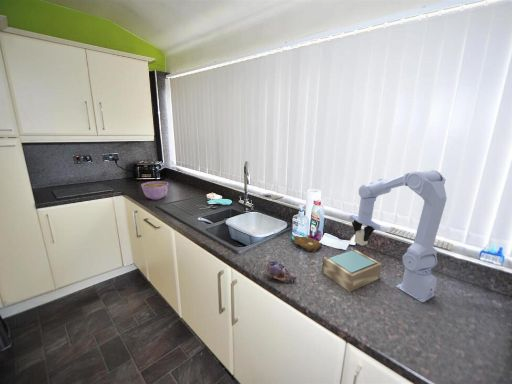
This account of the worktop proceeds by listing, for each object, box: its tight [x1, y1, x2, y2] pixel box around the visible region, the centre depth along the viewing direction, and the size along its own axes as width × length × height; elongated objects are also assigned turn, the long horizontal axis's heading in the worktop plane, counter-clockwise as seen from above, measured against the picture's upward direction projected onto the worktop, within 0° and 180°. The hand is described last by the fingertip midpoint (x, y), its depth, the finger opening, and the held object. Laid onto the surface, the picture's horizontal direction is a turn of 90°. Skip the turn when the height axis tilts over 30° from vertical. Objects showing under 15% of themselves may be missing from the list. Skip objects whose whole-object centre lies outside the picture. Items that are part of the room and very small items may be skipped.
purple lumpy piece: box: [265, 260, 298, 284], centre depth 92 cm, size 12×8×6 cm, turn 57°
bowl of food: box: [140, 180, 169, 201], centre depth 187 cm, size 20×20×12 cm
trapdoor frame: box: [321, 247, 383, 293], centre depth 95 cm, size 14×17×7 cm
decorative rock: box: [293, 235, 323, 253], centre depth 119 cm, size 11×4×15 cm
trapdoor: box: [329, 250, 375, 274], centre depth 95 cm, size 11×14×1 cm
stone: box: [354, 229, 369, 246], centre depth 111 cm, size 4×4×6 cm
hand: (361, 238), depth 111 cm, fingers closed on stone, 4 cm apart
